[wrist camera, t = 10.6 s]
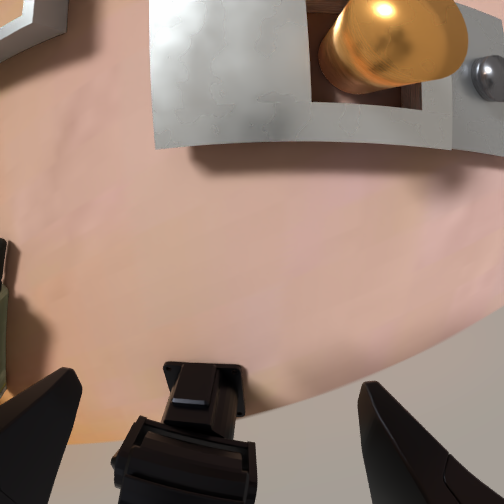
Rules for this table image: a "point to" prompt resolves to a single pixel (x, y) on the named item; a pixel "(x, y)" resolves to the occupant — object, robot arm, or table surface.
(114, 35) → the table surface
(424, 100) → the grey panel with knob
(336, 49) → the gold metallic cylinder
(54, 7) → the grey rectangular frame
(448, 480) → the robot arm
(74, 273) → the table surface
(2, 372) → the handheld radio
